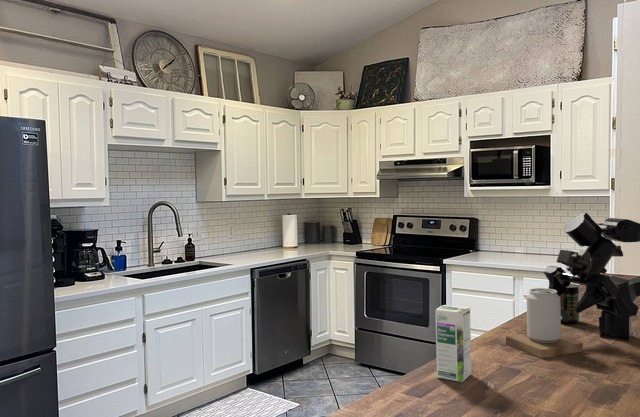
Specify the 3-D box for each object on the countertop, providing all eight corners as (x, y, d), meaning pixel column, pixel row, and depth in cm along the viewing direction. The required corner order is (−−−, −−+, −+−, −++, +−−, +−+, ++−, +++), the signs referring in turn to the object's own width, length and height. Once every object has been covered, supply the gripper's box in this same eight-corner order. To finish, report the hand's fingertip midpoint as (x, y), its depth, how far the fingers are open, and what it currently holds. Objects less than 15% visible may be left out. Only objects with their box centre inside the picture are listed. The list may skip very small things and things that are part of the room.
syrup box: (435, 378, 110) (434, 309, 109) (446, 369, 115) (444, 303, 114) (462, 383, 107) (460, 312, 106) (472, 374, 111) (470, 306, 111)
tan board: (544, 337, 135) (544, 330, 134) (582, 351, 123) (582, 342, 123) (505, 344, 131) (505, 336, 130) (541, 358, 119) (541, 350, 119)
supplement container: (585, 322, 148) (584, 285, 147) (569, 326, 144) (569, 288, 144) (563, 317, 153) (563, 282, 153) (548, 321, 150) (547, 284, 150)
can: (564, 344, 122) (563, 293, 122) (530, 343, 124) (529, 293, 123) (556, 335, 130) (556, 286, 129) (524, 334, 131) (523, 286, 131)
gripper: (548, 234, 138) (514, 280, 135) (609, 241, 121) (572, 294, 117) (572, 262, 141) (540, 307, 138) (635, 272, 124) (600, 324, 120)
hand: (561, 307), depth 128 cm, fingers open, 9 cm apart
